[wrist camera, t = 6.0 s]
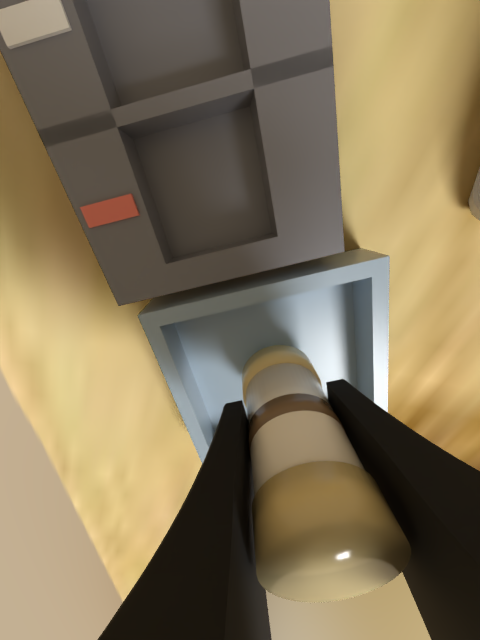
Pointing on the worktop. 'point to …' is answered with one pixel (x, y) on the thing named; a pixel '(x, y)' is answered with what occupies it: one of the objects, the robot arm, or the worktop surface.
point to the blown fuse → (312, 489)
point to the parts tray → (272, 332)
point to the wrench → (475, 198)
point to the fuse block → (185, 132)
